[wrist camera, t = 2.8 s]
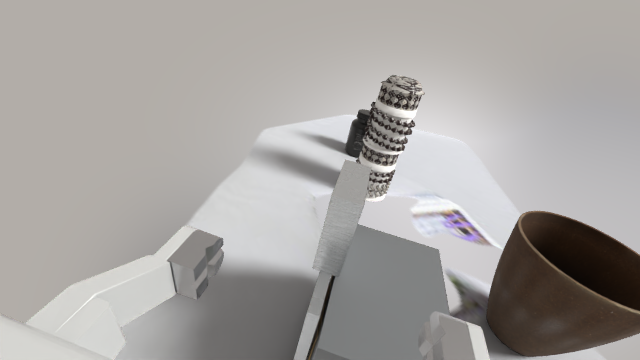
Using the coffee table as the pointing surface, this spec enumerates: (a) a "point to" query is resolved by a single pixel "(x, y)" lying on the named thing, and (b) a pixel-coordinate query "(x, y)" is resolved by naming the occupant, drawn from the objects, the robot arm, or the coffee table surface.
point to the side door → (335, 241)
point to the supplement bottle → (357, 133)
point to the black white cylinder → (388, 131)
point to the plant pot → (563, 287)
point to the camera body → (379, 300)
